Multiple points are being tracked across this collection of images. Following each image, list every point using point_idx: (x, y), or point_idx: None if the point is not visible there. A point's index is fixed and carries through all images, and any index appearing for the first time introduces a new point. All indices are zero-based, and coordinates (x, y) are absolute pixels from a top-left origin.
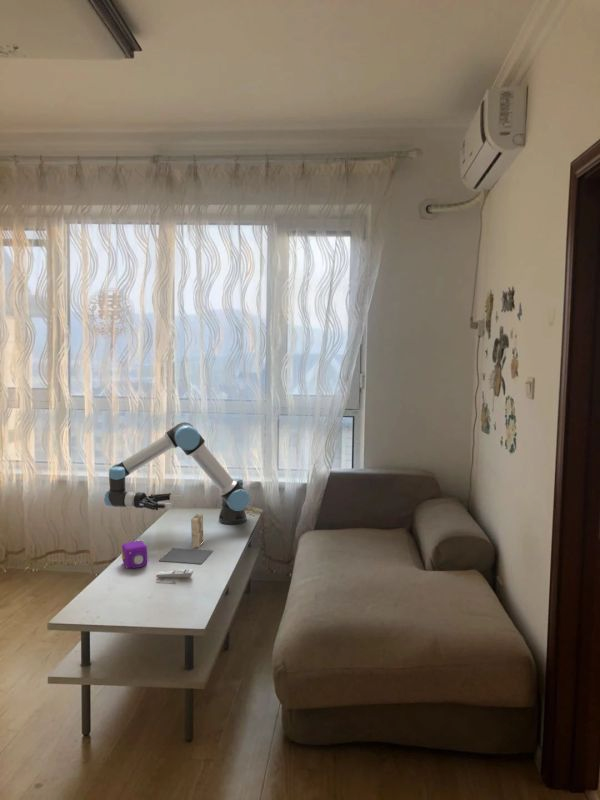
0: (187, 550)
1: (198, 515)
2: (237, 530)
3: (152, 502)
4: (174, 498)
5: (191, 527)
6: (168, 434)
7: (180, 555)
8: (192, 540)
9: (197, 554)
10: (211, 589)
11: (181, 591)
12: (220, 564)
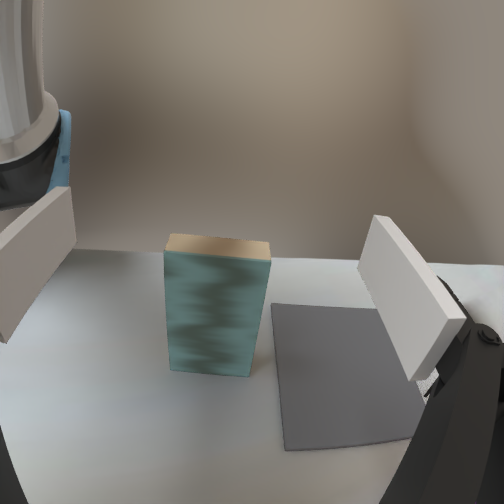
0: (300, 377)
1: (190, 245)
2: (61, 268)
3: (490, 430)
4: (29, 269)
5: (263, 303)
6: None
7: (359, 383)
8: (253, 352)
9: (325, 335)
10: (458, 272)
11: (497, 307)
12: (356, 277)
